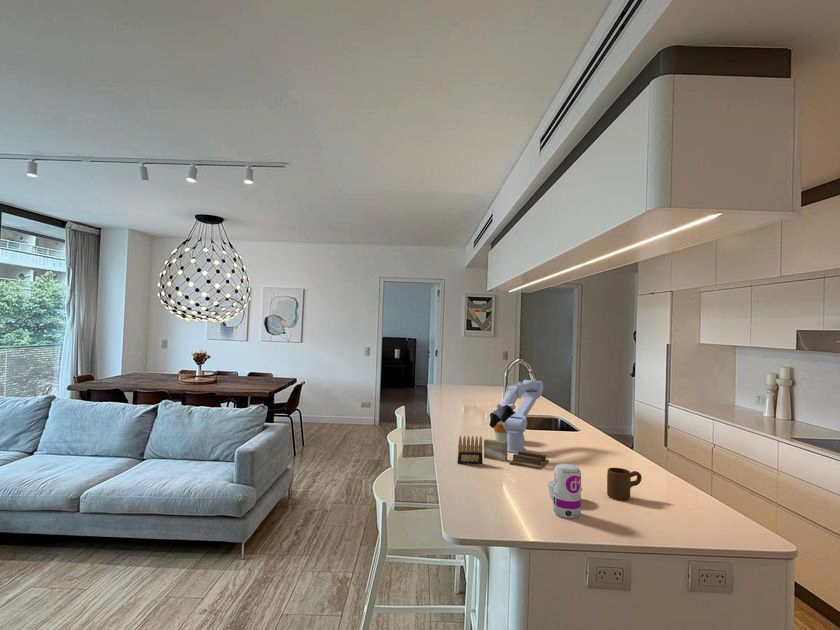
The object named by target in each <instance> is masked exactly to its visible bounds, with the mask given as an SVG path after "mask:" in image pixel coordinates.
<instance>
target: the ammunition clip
mask: <svg viewBox="0 0 840 630" xmlns="http://www.w3.org/2000/svg"><path fill="white" fill-rule="evenodd" d="M470 439H471V440H470ZM457 446H458V447H457V465H479V464H482V465H483V463H484V462H483V438H482V436H481V435H480V436H479V438H478V435H476V437H475V439H474V435H472V436H471V438H470V435H468V436H467V439H466V436H465V435H463V438H462V436H461V435H459V438H458V445H457Z"/></svg>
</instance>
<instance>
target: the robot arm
mask: <svg viewBox="0 0 840 630" xmlns="http://www.w3.org/2000/svg"><path fill="white" fill-rule="evenodd" d="M543 392H544V383H543V381H542V380H530V379H524V380H522V381H518V382H517V383H514V384H513V385H507V386H506V389H505V392H504V397H503V398H502V400H501V402H500V403H498V404H497V405H496V407H497V408H496V411H495V410H494V411H495V413H493V412H494V411H492V412H491V413H490V414H489V417H490V421H489V426H490V428H492V429H494V427H495V426H496V424H497V423H498V422H500V421H502V422H503V426H504V429H505V430H506V432H507V442H508V444H507V453H514V454H518V452H519V451H522V452H525V451H526V450H527V448H525V435H524V433H525V432H526V431H527V426H528V420H527V416H528V415H529V413H530V411H531V410H532V408H533V407H534V405H535V403H536V401H537V399H539V398H540V397H541V396H542V394H543ZM522 397H523V398H524V399H523V401H522V402H521V404H520V405H519V407H518V408H517V410H516V411H515V412H516V413H514V410H515V409H516V407H517V406H516V405H515V404H516V402H517V401H518V399H521V398H522ZM499 417H501V419H500V418H499Z"/></svg>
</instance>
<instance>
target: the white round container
mask: <svg viewBox="0 0 840 630" xmlns="http://www.w3.org/2000/svg"><path fill="white" fill-rule="evenodd" d="M547 487H548V493H549V498H550V499H551V500H552V502H554V479H553V480H550V481H548V483H547ZM582 491H583V487H582V485H581V492H582Z"/></svg>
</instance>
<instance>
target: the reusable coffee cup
mask: <svg viewBox="0 0 840 630" xmlns="http://www.w3.org/2000/svg"><path fill="white" fill-rule="evenodd" d="M495 411H496V410H495V409H494V410H493V411H492V412H493V413H495ZM513 411H514V410H513ZM514 413H516V411H514ZM499 418H500V419H501V417H499ZM493 432H494V434H495V440H497V441H504V442H507V432H506V430H505V429H504V426H503V422H502V421H500V422H498V423H497V424H496V426H495V427H494V428H493Z"/></svg>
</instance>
